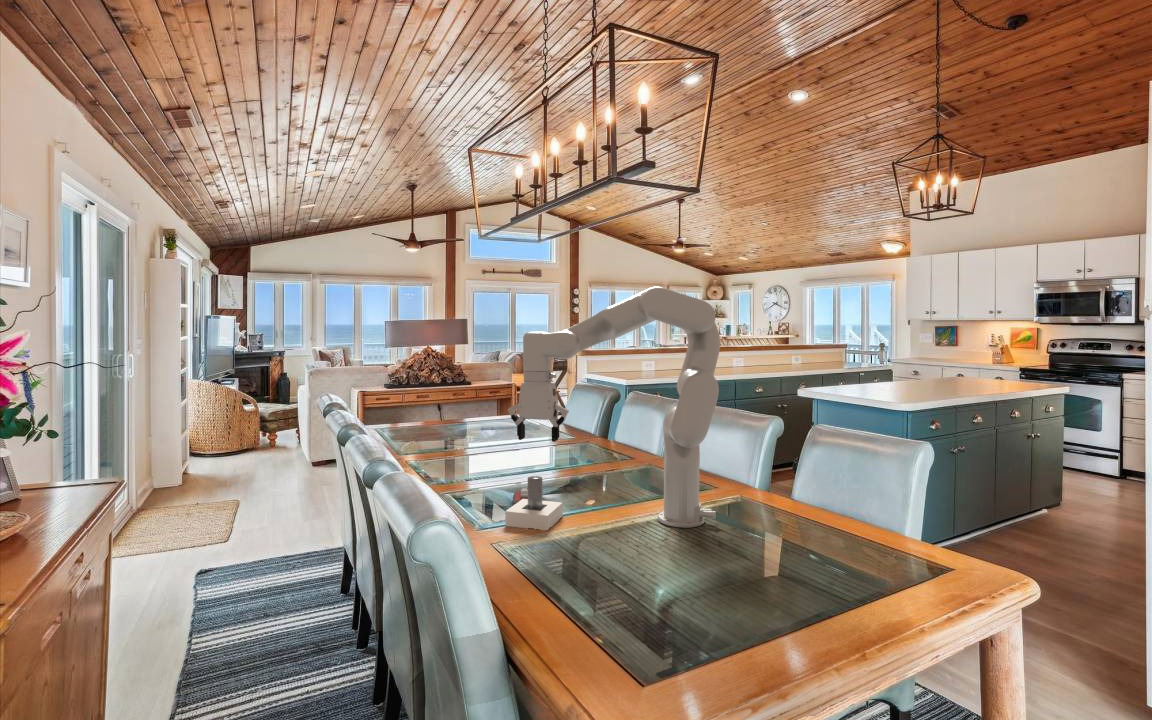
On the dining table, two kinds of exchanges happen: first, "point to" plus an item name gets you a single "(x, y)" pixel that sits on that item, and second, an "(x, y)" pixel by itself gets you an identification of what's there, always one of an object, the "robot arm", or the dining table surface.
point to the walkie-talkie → (520, 495)
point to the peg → (535, 493)
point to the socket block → (533, 515)
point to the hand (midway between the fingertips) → (538, 439)
